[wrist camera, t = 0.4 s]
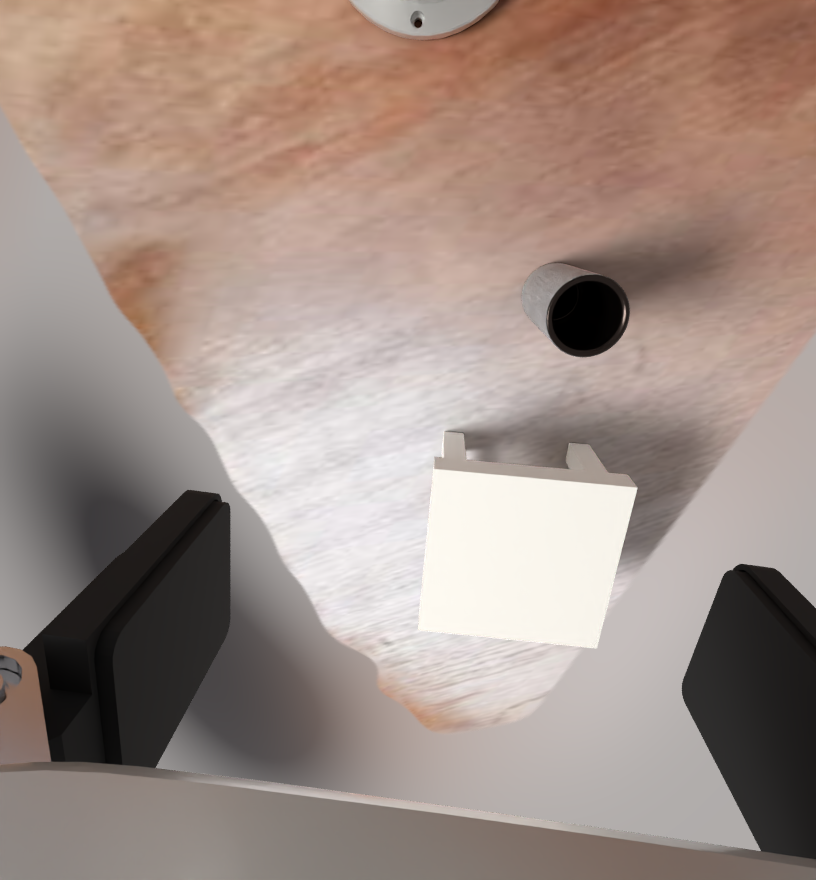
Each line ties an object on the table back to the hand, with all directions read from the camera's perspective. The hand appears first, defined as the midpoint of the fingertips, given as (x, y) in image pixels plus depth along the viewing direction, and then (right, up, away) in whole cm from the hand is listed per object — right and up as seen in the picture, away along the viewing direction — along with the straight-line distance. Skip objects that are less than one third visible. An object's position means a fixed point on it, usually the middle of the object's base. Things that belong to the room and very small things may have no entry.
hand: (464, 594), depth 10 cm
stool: (+7, -2, +35) cm, 36 cm away
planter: (+9, +14, +29) cm, 34 cm away
